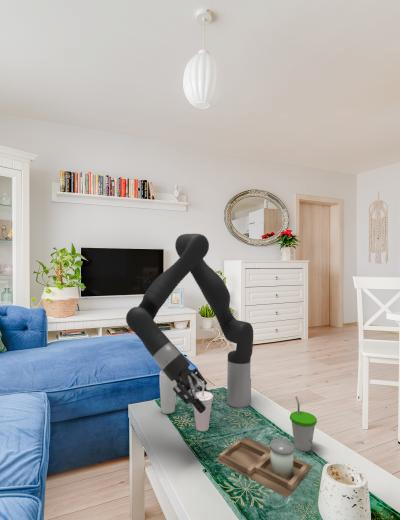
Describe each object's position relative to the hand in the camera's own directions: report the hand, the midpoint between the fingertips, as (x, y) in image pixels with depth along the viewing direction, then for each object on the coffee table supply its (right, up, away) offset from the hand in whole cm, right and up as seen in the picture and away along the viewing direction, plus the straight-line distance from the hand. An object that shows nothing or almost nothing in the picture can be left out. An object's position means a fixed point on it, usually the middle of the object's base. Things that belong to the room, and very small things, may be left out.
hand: (207, 405), depth 95 cm
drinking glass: (-14, -15, +29) cm, 36 cm away
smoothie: (-2, -7, +1) cm, 7 cm away
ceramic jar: (+20, -14, -8) cm, 26 cm away
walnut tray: (+16, -16, -4) cm, 22 cm away
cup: (+29, -16, +4) cm, 33 cm away
